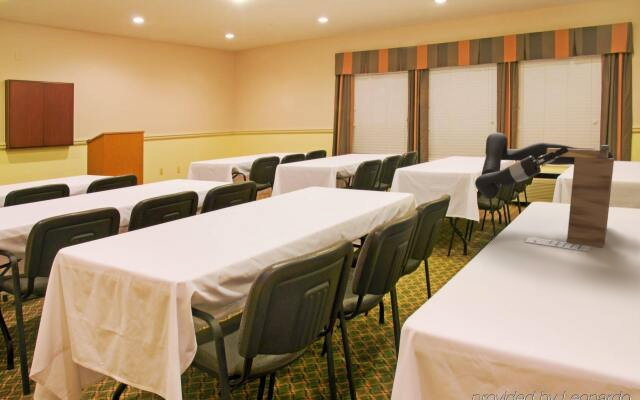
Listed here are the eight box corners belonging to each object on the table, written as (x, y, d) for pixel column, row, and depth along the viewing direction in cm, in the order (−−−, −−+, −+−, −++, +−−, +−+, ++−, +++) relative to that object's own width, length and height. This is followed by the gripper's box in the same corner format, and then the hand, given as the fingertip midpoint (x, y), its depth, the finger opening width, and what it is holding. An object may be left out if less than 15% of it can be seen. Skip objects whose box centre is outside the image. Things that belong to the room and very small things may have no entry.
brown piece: (569, 239, 197) (578, 144, 191) (605, 244, 190) (615, 145, 184) (566, 242, 193) (575, 144, 186) (602, 247, 186) (613, 146, 179)
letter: (530, 238, 199) (530, 237, 199) (590, 247, 186) (591, 246, 186) (524, 242, 192) (524, 241, 192) (586, 251, 180) (586, 250, 180)
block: (548, 155, 196) (548, 147, 196) (607, 158, 184) (608, 150, 184) (546, 155, 194) (547, 148, 193) (606, 158, 182) (607, 150, 182)
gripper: (534, 176, 206) (576, 156, 195) (524, 179, 195) (568, 159, 184) (525, 159, 207) (567, 138, 196) (515, 161, 196) (559, 140, 185)
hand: (567, 148), depth 190 cm, fingers closed on block, 2 cm apart
